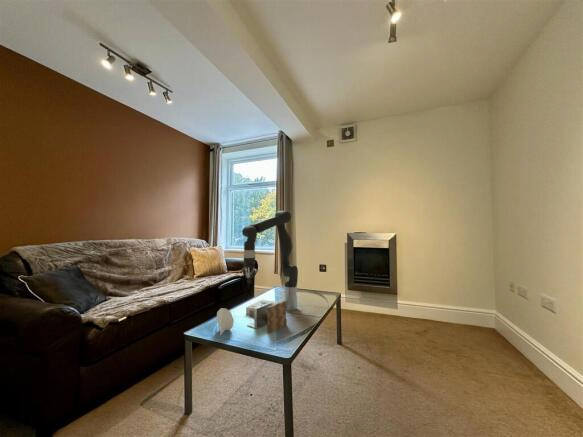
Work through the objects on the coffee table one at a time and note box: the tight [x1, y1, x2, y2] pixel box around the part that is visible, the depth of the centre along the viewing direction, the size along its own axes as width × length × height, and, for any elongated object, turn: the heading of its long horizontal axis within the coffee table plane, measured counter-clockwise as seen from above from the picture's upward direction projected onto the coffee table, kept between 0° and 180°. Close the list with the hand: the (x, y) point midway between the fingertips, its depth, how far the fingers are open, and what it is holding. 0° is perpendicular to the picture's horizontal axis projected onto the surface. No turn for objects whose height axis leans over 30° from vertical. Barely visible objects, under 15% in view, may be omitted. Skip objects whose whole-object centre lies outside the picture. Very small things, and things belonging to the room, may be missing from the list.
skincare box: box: [245, 299, 280, 316], centre depth 175 cm, size 21×5×16 cm
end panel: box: [266, 300, 287, 334], centre depth 144 cm, size 16×2×15 cm, turn 145°
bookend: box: [246, 303, 271, 330], centre depth 151 cm, size 13×8×12 cm, turn 145°
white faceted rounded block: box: [216, 307, 234, 336], centre depth 137 cm, size 10×11×15 cm
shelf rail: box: [249, 310, 288, 327], centre depth 158 cm, size 2×31×4 cm, turn 55°
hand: (249, 283), depth 157 cm, fingers closed
